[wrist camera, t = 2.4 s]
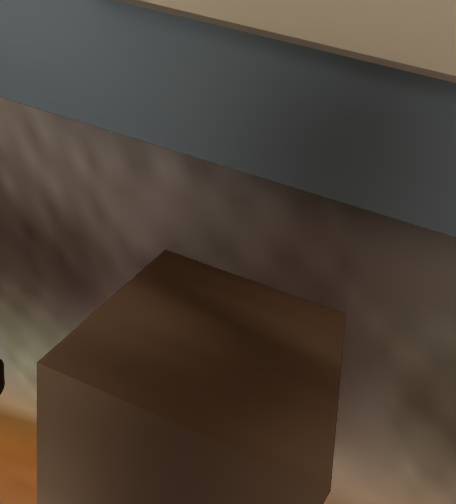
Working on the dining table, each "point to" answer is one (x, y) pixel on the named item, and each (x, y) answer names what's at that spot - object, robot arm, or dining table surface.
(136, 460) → the walnut block
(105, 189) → the dining table surface
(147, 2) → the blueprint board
